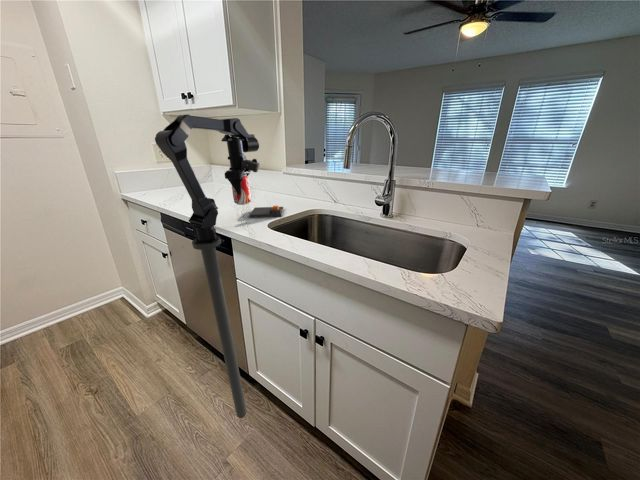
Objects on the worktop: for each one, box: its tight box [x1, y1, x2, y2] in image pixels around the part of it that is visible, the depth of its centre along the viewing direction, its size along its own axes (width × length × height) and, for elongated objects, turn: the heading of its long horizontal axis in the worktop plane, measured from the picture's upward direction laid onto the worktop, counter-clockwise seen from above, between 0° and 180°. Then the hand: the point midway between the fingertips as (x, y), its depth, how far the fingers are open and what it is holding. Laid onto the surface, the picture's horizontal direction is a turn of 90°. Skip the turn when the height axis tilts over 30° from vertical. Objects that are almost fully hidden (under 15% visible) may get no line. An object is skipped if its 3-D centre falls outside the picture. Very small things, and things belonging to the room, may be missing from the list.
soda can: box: [231, 174, 252, 206], centre depth 108 cm, size 7×7×12 cm
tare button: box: [272, 205, 280, 210], centre depth 117 cm, size 3×3×2 cm
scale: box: [249, 206, 285, 219], centre depth 121 cm, size 14×12×3 cm
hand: (241, 192), depth 108 cm, fingers closed on soda can, 7 cm apart
